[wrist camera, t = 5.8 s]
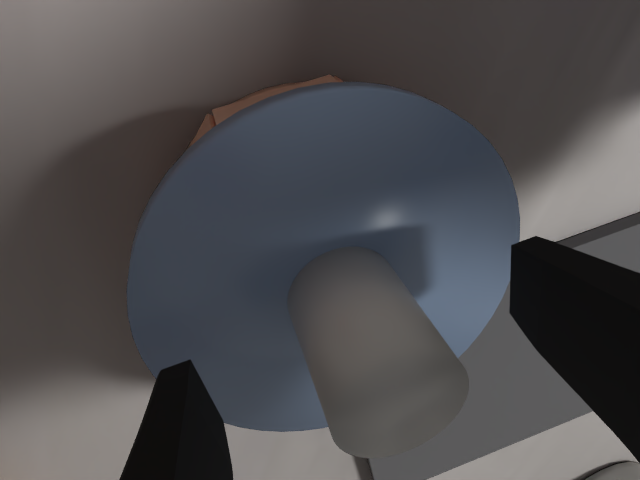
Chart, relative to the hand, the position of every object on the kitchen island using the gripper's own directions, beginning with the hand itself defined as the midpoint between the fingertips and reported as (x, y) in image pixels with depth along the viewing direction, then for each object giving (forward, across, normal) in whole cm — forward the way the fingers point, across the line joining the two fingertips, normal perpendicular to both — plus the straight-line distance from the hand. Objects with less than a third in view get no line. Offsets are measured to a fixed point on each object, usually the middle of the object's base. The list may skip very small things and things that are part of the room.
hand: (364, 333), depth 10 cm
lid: (+3, 0, 0) cm, 3 cm away
